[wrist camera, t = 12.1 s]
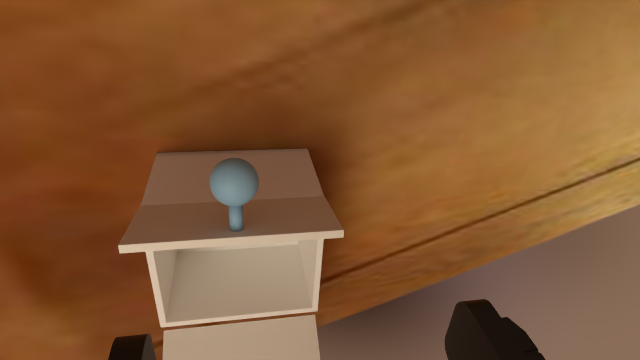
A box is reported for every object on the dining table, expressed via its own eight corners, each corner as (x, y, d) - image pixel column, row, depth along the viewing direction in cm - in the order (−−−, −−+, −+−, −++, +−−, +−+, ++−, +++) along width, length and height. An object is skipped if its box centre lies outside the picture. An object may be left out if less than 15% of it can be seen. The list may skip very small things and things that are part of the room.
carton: (307, 148, 47) (326, 203, 38) (302, 244, 54) (317, 311, 45) (156, 152, 44) (138, 214, 34) (172, 254, 51) (160, 327, 42)
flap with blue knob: (324, 202, 37) (325, 137, 35) (344, 239, 30) (348, 161, 29) (140, 212, 34) (132, 142, 32) (118, 255, 27) (105, 170, 26)
